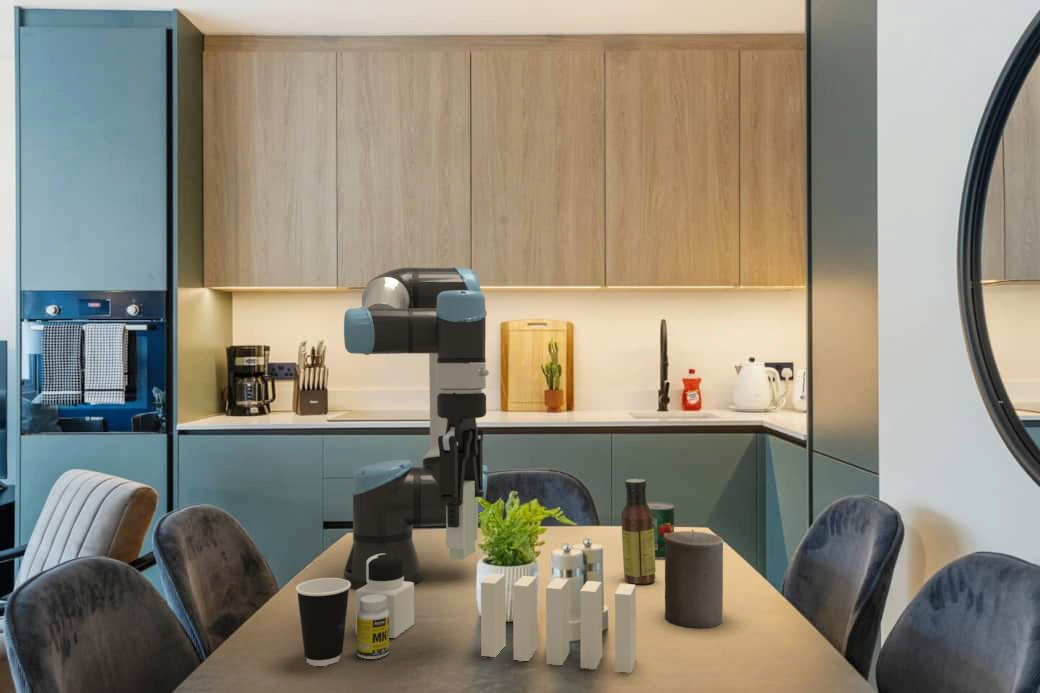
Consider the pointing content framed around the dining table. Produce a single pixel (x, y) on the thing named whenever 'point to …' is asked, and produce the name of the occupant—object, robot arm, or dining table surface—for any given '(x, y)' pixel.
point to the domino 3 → (557, 621)
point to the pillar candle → (693, 579)
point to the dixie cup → (323, 618)
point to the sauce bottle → (638, 535)
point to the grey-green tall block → (467, 522)
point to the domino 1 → (493, 615)
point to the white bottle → (389, 590)
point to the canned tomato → (661, 525)
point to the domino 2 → (525, 618)
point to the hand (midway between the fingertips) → (462, 543)
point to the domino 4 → (591, 624)
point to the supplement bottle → (373, 627)
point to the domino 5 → (625, 627)
